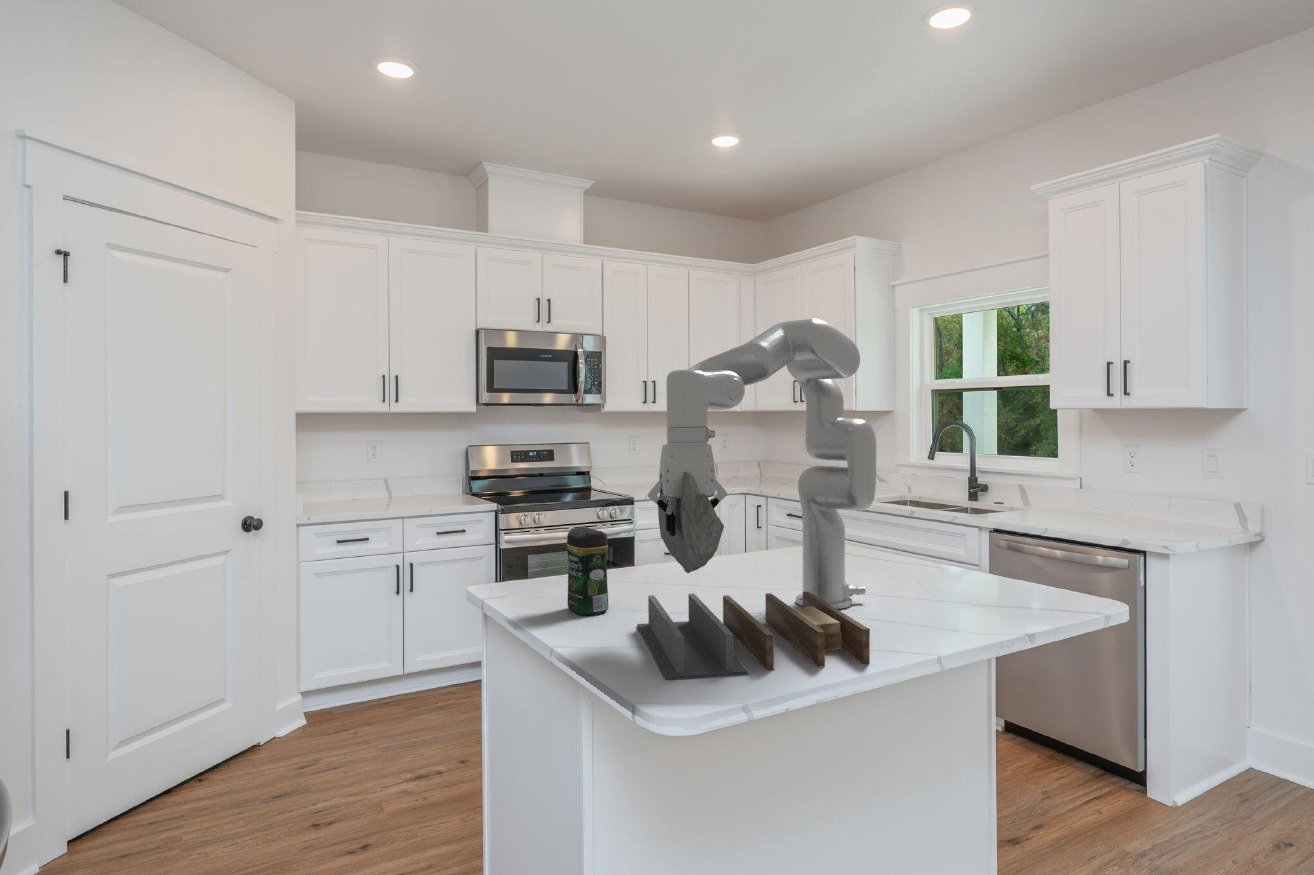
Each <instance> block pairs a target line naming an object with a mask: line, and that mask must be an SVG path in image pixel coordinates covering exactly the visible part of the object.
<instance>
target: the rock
mask: <svg viewBox="0 0 1314 875" xmlns="http://www.w3.org/2000/svg"><path fill="white" fill-rule="evenodd" d="M658 497H659V498H660V499H661V500H663V501H664V502H665V503H666V500H667V497H665V496H663V495H661V494H660V493H659V494H658ZM657 510H658V513H657V514H658V525H659V526H658V527H659V534H660V538H661V539H662V540H663V543H664V545H665V547H666V549H667V550H668V552H669V554H670V556H672V557H673V558H674V559H675V561H676V562H677V563H678V564H679V565H680V566H681V567H682V569H683V570H684V572H685V573H686V574H690V573H691V572H695V571H697V570H700V568H703V567H705V566H706V565H707V563H708V562H709V561H710V560H712V558H713V557H714V555H715V554H716V552H717V551H718V549H719V545H720V540H721V536H722V535H723V532H724V529H725V526H724V525H725V524H724V523H723V522H722V520H721V519H720V517H719V516H718V514H717V513H716V510H715V508H714V509H713V507H712V505H711V502H710V499H709V497H707V496H706V495H705V494H702V493H700V492H699V489H698V486H697V483H696V481H695V479H694V477H693V476H692V475H691V474H689V473H687V472H684V479H683V488H682V498H681V499H677V500H676V503H675V506H674V509H673V511H674V515H675V517H676V535H675V536H671V535H669V531H666V513H665V512H664V511H663V510H662V509H661V508H660V507H659V506H658V505H657Z"/></svg>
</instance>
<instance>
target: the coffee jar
mask: <svg viewBox="0 0 1314 875" xmlns="http://www.w3.org/2000/svg"><path fill="white" fill-rule="evenodd" d="M566 539H567V540H566V549H567V564H568V566H567V569H568V570H567V607H568V610H570V611H572V612H574V613H576V614H579V615H582V616H583V615H584V616H585V615H587V616H588V615H592V616H596V615H601V614H603V613H605V612H607V611H608V610H609V592H608V591H609V590H608V573H607V572H608V569H607V568H608V566H607V560H608V559H607V554H608V550H609V549H608V548H609V547H608V546H609V542H608V541H609V540H608V535H607V533H606V532H603V531H602V530H599V529H593V528H590V527H588V526H584V527H574V528H571V530H569V531H568V533H567V537H566Z"/></svg>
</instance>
